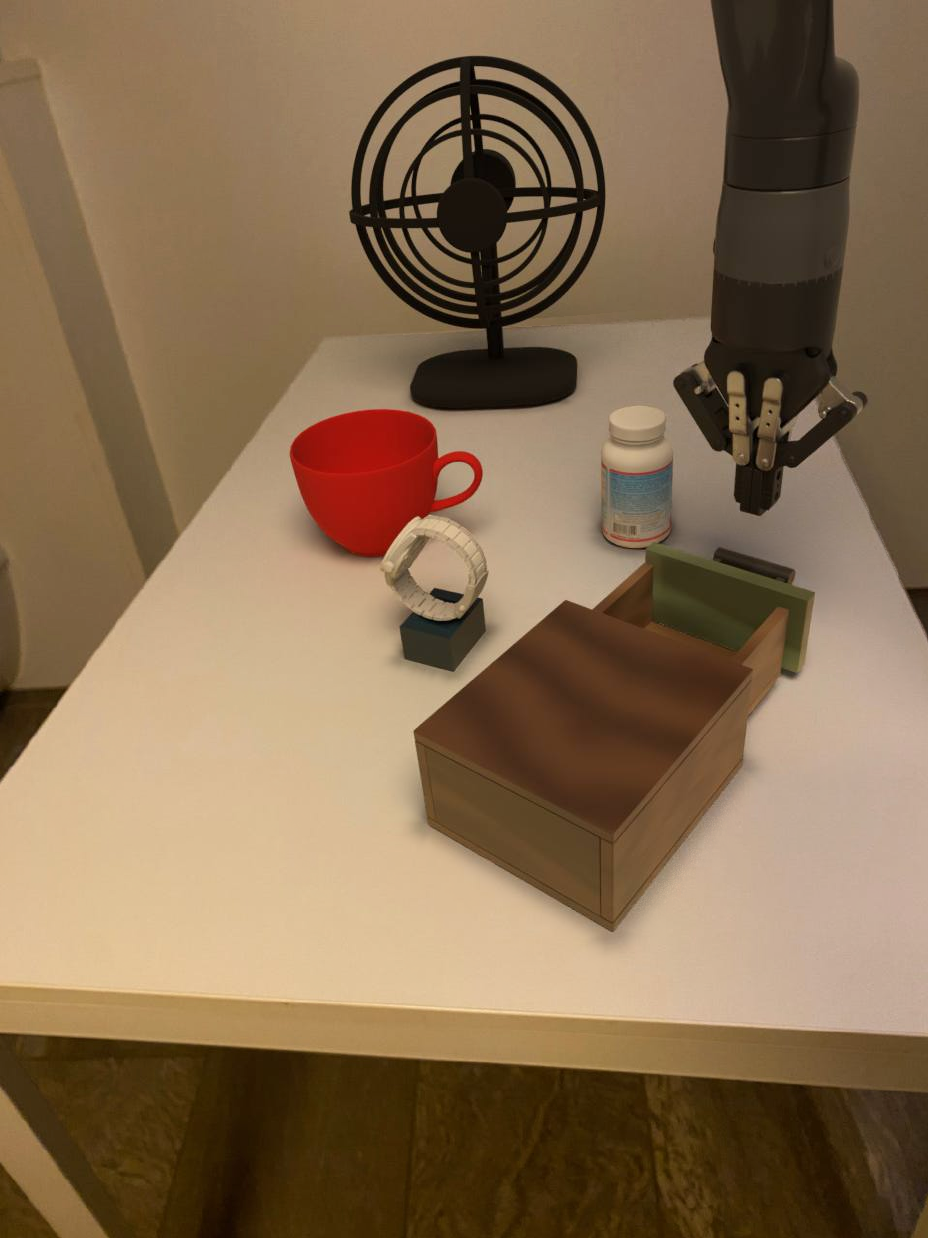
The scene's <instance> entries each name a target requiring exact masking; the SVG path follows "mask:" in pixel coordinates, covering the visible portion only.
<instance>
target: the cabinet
mask: <svg viewBox="0 0 928 1238" xmlns="http://www.w3.org/2000/svg"><path fill="white" fill-rule="evenodd" d="M592 609H593V608H589V607H588V606H587V607H586V606H584V605H581V604H579V603H575V602H573V601H570V600H568V599H564V600H563V601H562V602H561V603H560V604H559V605H557V607H555V608H554V609H553V610H551V612H549V613H548V614H547V615H545V616H544V618H543V619H542V620H540V621H539V622H538V623H537V624H536V625H534V626H533V627H532V628H530V629H529V630H528V631H527V632H526V633H525V634H523V636H522V637H520V638H519V639H518V640H517V641H516V642H515V643H513V644H512V645H511V646H510V647H508V648H507V649H506V650H505V651H504V652H503V653H502V654H500V655H499V656H498V657H497V658H496V659H494V661H493V662H491V663H490V664H489V665H488V666H486V667H485V668H484V669H483V670H481V672H480V673H478V674H477V675H476V676H475V677H473V679H471V681H469V682H468V683H467V684H465V686H463V687H462V688H460V689H459V691H458V692H456V693H455V694H454V695H453V696H452V697H451V698H449V699H448V700H447V701H446V702H445V703H444V704H442V705H441V706H440V707H439V708H438V709H437V710H436V711H434V712H433V713H431V714H430V716H428V717H427V718H426V719H425V720H424V721H422V723H420V724H419V725H418V726H417V727H416V728H414V729H413V732H412V733H413V738H414V746H415V752H416V758H417V763H418V770H419V776H420V781H421V782H420V783H421V788H422V794H423V801H424V807H425V812H426V817H427V822H428V823H427V824H428V826H430V827H432V828H433V829H435V830H437V831H438V832H440V833H441V834H443V835H445V836H447V837H449V838H451V840H454V841H456V842H457V843H459V844H461V845H462V846H465V847H466V848H467V849H470V850H471V851H473V852H475V853H476V854H478V855H479V856H482V857H483V858H485V859H487V860H488V861H490V862H492V863H494V864H495V865H497V866H499V867H501V868H502V869H504V870H505V871H507V872H509V873H511V874H513V875H514V876H516V877H518V878H519V879H521V880H523V881H524V882H526V883H528V884H530V885H531V886H533V887H534V888H536V889H538V890H540V891H541V892H543V893H545V894H547V895H548V896H550V897H552V898H553V899H555V900H557V901H559V902H561V903H562V904H563V905H566V906H568V908H571V909H573V910H574V911H576V912H577V913H580V914H581V915H583V916H585V917H586V918H588V919H590V920H591V921H593V922H595V923H597V924H598V925H600V926H601V927H603V928H605V929H607V930H608V931H610V932H614V931H615V930H616V928H617V927H618V926H619V924H620V923H621V922H622V920H623V919H624V918H625V917H626V916H627V915H628V913H629V912H630V910H631V909H632V908H633V906H634V905H635V904H636V903H637V902H638V900H639V899H640V898H641V896H642V895H643V894H644V892H645V891H646V890H647V889H648V887H649V886H650V885H651V883H652V882H653V881H654V880H655V878H656V877H657V876H658V874H659V873H660V872H661V870H663V868H664V867H665V865H666V864H667V863H668V862H669V860H670V859H671V858H672V856H673V855H674V854H675V853H676V851H677V850H678V848H680V846H681V845H682V843H683V842H684V841H685V840H686V838H687V837H688V836H689V835H690V833H691V832H692V831H693V830H694V828H695V827H696V825H697V824H698V823H699V821H700V820H701V819H702V818H703V816H705V814H706V813H707V812H708V810H709V809H710V808H711V806H712V805H713V804H714V803H715V801H716V800H717V799H718V797H719V796H720V794H722V792H723V791H724V790H725V789H726V787H727V785H729V783H730V782H731V780H733V778H734V777H735V775H736V774H737V773H738V772H739V770H740V769H741V768H742V766H743V763H744V762H743V761H744V753H745V745H746V737H747V736H746V735H747V727H748V718H749V715H748V710H749V701H750V692H751V683H752V675H753V669H752V668H749V667H746V666H743V665H741V664H738V663H735V662H733V661H730V660H727V659H725V658H722V657H719V656H716V655H714V654H711V653H708V652H706V651H703V650H700V649H697V648H695V647H692V646H689V645H687V644H684V643H681V642H679V641H676V640H673V639H670V638H668V637H665V636H662V635H660V634H657V633H654V632H652V631H649V630H646V629H643V628H641V627H638V626H635V625H633V624H630V623H627V622H625V621H622V620H619V619H616V618H614V617H611V616H608V615H606V614H603V613H600V612H598V611H595V610H592Z"/></svg>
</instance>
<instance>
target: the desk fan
mask: <svg viewBox="0 0 928 1238" xmlns="http://www.w3.org/2000/svg"><path fill="white" fill-rule="evenodd" d="M475 67H481V68H482V67H483V68H491V69H499V70H503V71H507V72H510V73H513V74H516V75H519V76H521V77H523V78H525V79H527V80H529V81H531V82H533V83H534V84H536V85H538V86H539V87H541V88H542V89H544V90H545V91H546V92H548V93H549V94H550V95H551V96H552V97H554V99H556V100H557V101H558V102H559V103H560V104H561V105H562V106H563V107H564V108H565V110H566V112H568V113H569V115H570V116H571V117H572V119H573V121H574V122H575V124H576V125H577V127H578V128H579V130H580V132H581V134H582V136H583V137H584V140H585V142H586V144H587V146H588V149H589V152H590V155H591V158H592V162H593V166H594V171H595V177H596V185H597V190H595V189H591V188H585V183H584V174H583V168H582V164H581V161H580V156H579V153H578V150H577V148H576V145H575V143H574V141H573V139H572V137H571V135H570V133H569V131H568V130H567V128H566V126H565V125H564V123H563V121H561V119H560V118H559V117H558V116H557V115H556V114H555V112H554V111H553V110H552V109H551V108H550V107H549V106H548V105H547V104H545V102H543V101H542V100H541V99H539V98H538V97H536V96H535V95H533V93H530V92H529V91H527V90H525V89H523V88H521V87H519V86H516V85H515V84H511V83H508V82H504V81H500V80H495V79H486V78H477V76H476V70H475ZM454 69H455V70H456V69H459V80H458V81H453V82H451V83H447V84H444V85H442V86H440V87H437V88H435V89H434V90H431V91H430V92H428V93H426V94H425V95H424V96H422V97H421V98H419V99H418V100H417V101H416V102H414V104H412V105H411V106H410V107H409V108H408V109H407V110H406V111H405V112H404V113H403V115H402V116H401V117H400V118H399V119H398V120H397V121H396V122H395V123H394V124H393V126H392V128H391V129H390V130H389V132H388V133H387V135H386V136H385V138H384V140H383V141H382V143H381V145H380V147H379V150H378V152H377V154H376V157H375V160H374V162H373V166H372V169H371V175H370V180H369V188H368V189H369V191H368V203H366V204H363V205H362V195H361V194H362V193H361V191H362V189H361V188H362V187H361V186H362V173H363V167H364V162H365V158H366V154H367V150H368V147H369V144H370V141H371V139H372V137H373V134H374V132H375V130H376V128H377V127H378V125H379V123H380V121H381V120H382V119H383V117H384V115H385V114H386V112H387V111H388V110H389V109H390V107H391V106H392V105H393V104H394V103H395V102H396V101H397V100H398V99H399V98H400V97H401V96H402V95H403V94H405V92H407V91H408V90H410V89H411V88H412V87H414V86H415V85H417V84H419V83H420V82H422V81H424V80H426V79H428V78H430V77H432V76H434V75H438V74H440V73H443V72H445V71H449V70H454ZM479 95H486V96H492V97H497V98H500V99H504V100H507V101H509V102H511V103H514V104H516V105H518V106H520V107H522V108H524V109H525V110H527V111H528V112H530V113H531V114H533V115H534V117H536V118H538V119H539V120H540V122H542V123H543V124H544V125H545V126H546V127H547V128H548V129H549V131H550V132H551V133H552V134H553V135H554V137H555V138H556V139H557V141H558V143H559V144H560V146H561V148H562V150H563V152H564V153H565V156H566V158H567V160H568V163H569V165H570V168H571V171H572V176H573V180H574V184H575V187H570V186H552V185H553V184H552V177H551V172H550V171H551V170H550V168H549V164H548V161H547V158H546V157H545V154H544V152H543V150H542V149H541V148H540V146H539V144H538V143H537V141H536V140H535V138H533V137H532V135H530V133H528V131H526V130H525V129H524V128H522V126H520V125H519V124H517V123H515V122H513V121H512V120H510V119H508V118H505V117H502V116H499V115H496V114H490V113H481V109H480V108H481V107H480V101H479V100H480V99H479ZM457 96H459V106H460V109H459V110H460V117H456V118H454V119H453V120H450V121H448V122H447V123H445V124H444V125H442V126H441V127H439V128H438V129H437V130H436V131H435V132H434V133H433V134H432V135H431V136H430V137H429V139H428V140H427V141H426V142H425V144H424V145H423V147H422V148H421V150H420V152H419V153H418V154H417V155H416V156H415V157H414V160H413V161H412V162H411V164H410V165H409V167H408V169H407V171H406V173H405V176H404V178H403V181H402V183H401V188H400V193H399V197H396V198H392V199H385V197H384V182H385V181H384V179H385V172H386V166H387V162H388V158H389V155H390V152H391V150H392V147H393V145H394V142H395V140H396V138H397V137H398V135H399V134H400V131H402V129H403V127H404V126H405V124H406V123H407V122H409V120H411V119H412V118H413V117H414V116H415V115H417V114H418V113H419V112H421V111H423V110H424V109H425V108H428V107H429V106H431V105H432V104H433V105H434V103H438V102H440V101H443V100H445V99H449V98H452V97H457ZM482 121H490V122H496V123H499V124H501V125H504V126H507V127H509V128H511V129H512V130H514V131H515V132H517V133H518V134H520V135H521V136H522V137H523V138H524V139H526V141H527V142H528V143H529V144H530V145H531V147H532V148H533V150H534V151H535V153H536V154H537V156H538V158H539V160H540V163H541V165H542V167H543V171H544V175H545V180H546V183H545V180H544V178H543V175H542V172H541V171H540V169H539V167H538V165H537V164H536V162H535V161H534V159H533V158H532V157H531V155H530V154H529V153H528V152H527V151H526V150H525V149H524V148H523V147H522V146H521V145H519V144H518V143H517V142H516V141H514V140H513V139H511V138H509V137H507V136H506V135H504V134H502V133H499V132H496V131H492V130H489V129H484V128H482ZM459 124H460V128H461V129H457V130H456V129H455V130H453V131H450V132H447V133H445V134H443V133H444V132H445V131H447V130H449V129H451V128H452V127H455V126H457V125H459ZM442 134H443V135H442ZM472 136H473V140H472ZM457 137H461V147H462V160H461V161H460V162H459V163H458V164H457V165H456V167H455V169H454V171H453V173H452V175H451V180H450V185H449V186H447V188H446V189H445V190H444V191H443V192H437V193H427V194H420V195H419V194H417V178H418V174H419V169H420V167H421V166H420V165H421V163H422V160H423V158H424V157H425V155H426V154H428V153H429V152H430V151H431V150H432V149H434V148H435V147H436V146H438V145H440V144H442V143H444V142H445V141H448V140H450V139H454V138H457ZM483 137H488V138H492V139H494V140H497V141H499V142H502V143H504V144H505V145H507V146H509V147H510V148H512V149H513V150H514V151H516V152H517V153H518V154H519V155H520V157H522V158H523V159H524V160H525V161H526V163H527V164H528V165H529V167H530V168H531V170H532V171H533V173H534V175H535V177H536V179H537V181H538V184H539V186H528V187H527V186H524V187H523V186H522V187H517V186H516V185H517V179H516V173H515V171H514V167H513V166H512V164H511V162H510V160H509V159H508V158H506V156H505V155H503V154H502V153H500V152H499V151H497V150H494V149H489V148H484V139H483ZM472 141H473V143H472ZM473 145H474V146H473ZM598 145H599V144H598V143H597V140H596V138H595V136H594V132H593V131H592V129H591V127H590V125H589V123H588V121H587V119H586V118H585V116H584V115H583V113H582V112H581V110H580V109H579V107H578V106H577V104H576V103H574V101H573V100H572V99H571V98H570V97H569V95H568V94H567V93H566V92H565V91H563V89H561V88H560V87H559V86H558V85H557V84H556V83H555V82H553V81H552V80H551V79H549V78H548V77H547V76H545V75H543V74H542V73H540V72H539V71H537V70H535V69H533V68H532V67H529V66H527V65H524V64H522V63H520V62H517V61H514V60H510V59H506V58H502V57H497V56H491V55H490V56H489V55H466V56H465V55H464V56H457V57H452V58H448V59H445V60H444V59H443V60H440V61H438V62H435V63H432V64H431V65H428V66H426V67H424V68H422V69H420V70H419V71H417V72H415V73H413V74H412V75H411V76H409V77H407V78H406V79H405V80H403V81H402V82H401V83H400V84H399V85H397V86H396V87H395V88H394V89H393V90H392V91H391V92H390V93H389V94H388V95H387V96H386V97H385V98H384V100H383V101H382V102H381V103H380V104H379V106H377V109H376V110H375V111H374V113H373V114H372V116H371V118H370V119H369V121H368V123H367V125H366V126H365V129H364V131H363V133H362V135H361V138H360V140H359V143H358V146H357V149H356V152H355V157H354V161H353V166H352V172H351V173H352V174H351V184H350V186H351V187H350V194H351V195H350V197H351V199H350V200H351V209H350V210H349V211H348V215H349V221H350V224H353V225H355V230H356V232H357V236H358V238H359V241H360V244H361V247H362V249H363V251H364V253H365V255H366V257H367V259H368V261H369V263H370V265H371V266H372V268H373V269H374V271H375V273H376V274H377V275H378V277H379V278H380V279H381V281H382V282H383V283H384V284H385V285H386V286H387V288H388V289H389V290H390V291H391V292H392V293H393V294H394V295H395V296H397V297H398V299H400V300H401V301H402V302H403V303H404V304H407V305H408V306H409V307H410V308H411V309H413V310H415V311H416V312H418V313H420V314H422V315H424V316H426V317H428V318H429V319H431V320H434V321H437V322H439V323H443V324H445V325H446V324H447V325H448V326H452V327H453V326H454V327H456V328H457V327H458V328H462V329H471V330H472V329H473V330H476V329H477V330H485V334H486V345H487V348H476V349H475V348H474V349H472V348H471V349H463V350H462V349H461V350H455V351H454V350H453V351H448V352H445V353H440V354H437V355H434V356H431V357H429V358H427V359H425V360H423V361H422V362H420V363H419V364H418V365H417V367H416V369H415V372H414V375H413V377H412V379H411V383H410V385H409V390H410V391H409V392H410V396H411V397H412V398H413V399H414V400H415V401H416V402H418V403H421V404H423V405H426V406H431V407H439V408H451V409H452V408H453V409H455V408H456V409H457V408H485V407H486V408H487V407H509V406H511V407H512V406H529V405H536V404H541V403H547V402H550V401H554V400H558V399H560V398H562V397H564V396H567V395H568V394H570V393H572V392H573V391H574V390H575V388H576V387H577V383H578V382H577V381H578V379H577V377H578V359H577V357H576V356H575V355H574V354H573V353H571V352H569V351H566V350H563V349H559V348H554V347H548V346H547V347H546V346H518V347H517V346H516V347H505V346H504V345H505V344H504V331H503V327H508V326H511V325H515V324H519V323H521V322H524V321H527V320H529V319H531V318H533V317H535V316H538V315H539V314H541V313H542V312H544V311H546V310H547V309H549V308H550V307H551V306H553V305H555V304H556V303H557V302H558V301H559V300H560V299H562V297H564V296H565V294H567V292H569V290H571V288H572V287H573V286H575V284H576V282H578V280H579V279H580V277H581V276H582V274H583V273H584V271H585V270H586V268H587V266H588V265H589V264H590V261H591V260H592V257H593V254H594V253H595V250H596V248H597V245H598V242H599V239H600V236H601V232H602V229H603V224H604V218H605V212H606V195H607V194H606V177H605V176H606V175H605V170H604V164H603V159H602V156H601V151H600V149H599V146H598ZM473 147H474V151H473ZM410 179H411V183H410V184H411V185H410V189H411V190H410V193H411V195H410V196H406V193H407V189H408V185H409V181H410ZM532 197H534V198H537V197H538V198H542V199H543V200H542V202H543V207H542V208H535V209H529V210H519V211H509V210H510V208H511V206H512V204H513V203H514V199H515V198H532ZM552 198H574V199H576V202H570V203H567V204H561V205H555V206H551V203H552ZM428 204H429V205H430V204H437V207H436V217H423V216H422V213H421V211H420V208H419V206H421V205H428ZM405 207H412V208H413V212H414V215H415V217H414V218H413V217H412V218H411V217H409V218H408V217H406V213H405V212H406V211H405ZM595 208H596V213H595V219H594V224H593V227H592V232H591V235H590V237H589V240H588V243H587V246H586V248H585V250H584V252H583V254H582V256H581V258H580V260H579V261H578V263H577V265H576V266H575V267H574V269H573V270H572V271H571V273H570V274H569V275H568V276H567V278H566V279H565V280H564V281H563V282H562V283H561V284H560V286H559V287H557V288H556V289H555V290H554V291H552V292H551V293H550V294H549V295H548V296H546V297H544V298H543V299H542V300H540V301H539V302H537V303H535V304H533V305H531V306H529V307H527V308H525V309H523V310H521V311H518V312H514V313H512V314H508V315H504V316H503V315H502V312H503V313H504V312H506V311H510V310H512V309H516V308H518V307H520V306H522V305H525V304H526V303H528V302H529V301H531V300H533V299H534V298H536V297H538V296H540V294H541V293H543V292H544V291H546V289H547V288H548V287H550V285H552V284H553V282H554V281H556V279H557V278H558V276H560V274H561V273H562V272H563V270H564V269H565V267H566V265H567V264H568V262H569V260H570V258H571V257H572V254H573V253H574V251H575V248H576V245H577V242H578V241H579V236H580V233H581V229H582V225H583V217H584V212H586V211H589V210H593V209H595ZM394 209H395V210H396V209H398V214H399V216H398V217H388V216H387V212H386V211H388V210H394ZM508 211H509V212H508ZM367 215H369V216H367ZM568 215H574V218H573V222H572V226H571V229H570V231H569V234H568V236H567V238H566V240H565V242H564V244H563V246H562V248H561V249H560V251H559V252H558V254H557V255H556V256H555V258H554V259H553V260H552V261H551V263H549V264H548V266H547V267H546V268H545V269H544V270H543V271H541V272H540V273H539V274H538V275H536V276H535V277H533V278H532V279H530V280H529V281H527V282H525V283H523V284H522V285H520V286H518V287H517V286H516V287H514V288H512V289H510V290H506V291H502V292H501V291H500V290H501V289H500V288H501V287H500V285H501V284H503V283H506V282H509V280H512V279H513V278H515V277H516V276H518V275H519V274H521V272H523V270H525V268H527V267H528V266H529V265H530V263H531V262H532V261H533V259H534V258H535V257H536V256H537V254H538V252H539V250H540V248H541V246H542V244H543V242H544V239H545V236H546V234H547V233H546V232H547V229H548V225H549V224H548V222H549V219H551V218H556V217H557V218H558V217H563V216H568ZM538 220H540V222H539V224H538V225H537V227H536V229H535V231H533V234H532V235H531V236H530V237H529V238H528V240H527V241H525V242H524V243H523V244H521V246H519V247H518V248H516V249H515V250H513V251H511V252H510V253H507V254H505V255H502V256H499V257H498V242H499V241H500V240H501V238H502V237H503V236H504V233H505V232H506V228H507V224H511V223H519V222H528V221H538ZM367 228H372V230H373V234H374V237H375V240H376V243H377V246H378V247H379V250H380V252H381V254H382V256H383V258H384V260H385V261H386V263H387V264H388V266H389V268H390V269H391V270H392V272H393V273H394V274H395V275H396V277H397V278H398V279H399V280H400V281H401V283H403V284H404V285H405V286H406V288H408V289H409V290H411V291H412V292H413V293H414V294H415V295H417V296H418V297H420V298H422V299H423V300H425V301H426V302H428V303H430V304H432V305H434V306H437V307H438V308H442V309H443V310H446V311H450V312H452V313H453V312H454V313H458V314H464V315H474V316H475V315H476V316H477V317H478V318H476V317H475V318H474V317H473V318H472V317H464V316H459V315H455V314H450V313H447V312H444V311H442V310H439V309H436V308H434V307H432V306H430V305H428V304H427V303H425V302H423V301H421V300H420V299H418V298H417V297H415V296H414V295H413V294H411V293H410V292H409V291H407V289H405V288H404V287H403V286H402V285H401V284H400V283H399V282H398V281H397V280H396V279H395V278H394V276H392V275H391V273H390V272H389V270H387V267H386V266H385V265H384V264H383V262H382V260H381V259H380V257H379V256H378V253H377V251H376V249H375V248H374V245H373V243H372V241H371V238H370V236H369V232H368V229H367ZM392 229H401V231H402V234H403V237H404V239H405V242H406V244H407V246H408V248H409V250H410V252H411V253H412V255H413V256H414V257H415V259H416V260H417V262H419V264H420V265H421V266H422V267H423V269H425V270H426V271H428V272H429V273H430V274H432V275H433V276H434V277H436V278H438V279H439V280H441V281H443V282H445V283H448V284H450V285H453V286H456V287H459V288H464V289H474V293H467V292H462V291H458V290H455V289H451V288H449V287H447V286H444V285H442V284H440V283H438V282H436V281H435V280H433V279H432V278H430V277H428V276H427V275H426V274H424V272H422V271H420V270H419V268H417V266H415V264H413V263H412V261H410V259H409V258H408V257H407V255H406V254H405V253H404V252H403V250H402V248H401V246H400V245H399V243H398V241H397V240H396V238H395V236H394V233H393V232H392ZM409 229H421V230H422V232H423V233H424V235H425V237H426V238H427V239H428V240H429V241H430V242H431V244H432V245H433V246H434V247H435V248H436V249H438V251H440V252H442V253H443V254H444V255H446V256H447V257H449V258H451V259H453V260H454V261H455V260H456V261H457V262H460V263H464V264H468V265H471V272H472V279H473V282H472V281H465V280H460V279H456V278H454V277H451V276H449V275H447V274H445V273H443V272H441V271H439V270H438V269H436V268H435V267H434V266H432V264H430V263H429V262H428V261H427V260H426V259H425V258H424V257H423V256H422V254H421V253H420V252H419V250H418V249H417V247H416V245H415V243H414V242H413V240H412V237H411V235H410V231H409ZM429 229H439V231H440V234H441V235H442V238H444V240H445V241H446V242H447V243H448V244H449V245H450V246H451V247H452V248H454V249H456V250H458V251H460V252H464V253H468V254H470V257H466V256H464V255H461V254H458V253H456V252H454V251H452V250H450V249H449V248H447V247H446V246H445V245H443V244H442V243H441V242H440V241H439V240H438V239H437V238H436V237H435V236H434V234H432V232H431V231H430V230H429ZM538 236H539V237H538ZM536 239H538V240H537V241H536V244H535V246H534V247H533V249H532V251H531V252H530V253H529V255H528V256H527V257H526V259H525V260H524V261H523V262H522V263H520V265H519V266H517V267H516V268H515V269H513V270H512V271H510V272H509V273H507V274H505V275H503V276H500V274H499V264H501V263H505V262H506V261H507V262H508V261H509V260H511V259H513V258H516V257H517V256H518V255H520V254H521V253H523V252H524V251H526V250H527V249H528V248H529V247H530V246H531V245H532V244H533V243H534V241H535V240H536ZM389 247H390V248H389ZM390 249H391V250H390ZM391 251H392V252H391ZM392 253H393V254H394V255H395V256H394V255H393V254H392ZM395 257H396V259H397V260H398V261H399V262H400V263H401V265H402V266H403V267H404V268H405V270H406V271H407V272H408V273H409V274H410V275H411V276H412V277H413V278H414V279H416V280H417V281H418V282H419V283H421V284H422V285H424V286H425V287H427V288H428V289H430V290H431V291H433V292H435V293H437V294H439V295H441V296H444V297H446V298H449V299H452V300H456V301H460V302H466V303H474V304H476V305H470V304H469V305H468V304H463V303H462V304H461V303H456V302H452V301H449V300H448V299H447V300H446V299H445V298H441V297H439V296H437V295H436V294H433V293H431V292H430V291H428V290H427V289H425V288H423V287H422V286H421V285H420V284H419V283H417V282H416V281H415V280H413V278H411V276H409V275H408V273H407V272H406V271H405V270H404V269H403V268H402V266H401V265H400V264H399V263H398V261H397V260H396V259H395ZM507 300H508V301H507ZM503 301H505V302H503Z"/></svg>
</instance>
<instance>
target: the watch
mask: <svg viewBox="0 0 928 1238" xmlns="http://www.w3.org/2000/svg"><path fill="white" fill-rule="evenodd" d="M429 538H432V539H436V540H437V541H439V542H442V543H443V544H446V546H448V547H449V548H450V549H452V550H453V551H455V552H456V554H458V555H459V557H460V558H461V559H463V562H464V564H465V566H466V567H467V569H469V570H468V572H469V574H468V581H467V584H466V586H465V590H464V593H461V592H455V591H451V590H446V589H442V588H437V587H433V588H432V589H431V591H430V592H429V593H428V592H426V591H425V590H424V589H423V588H422V586H421V585H419V584H417V583H418V582H417V581H416V580H415V578H414V577H413V576H412V575H411V572H410V570H409V569H410V568H411V567H412V566H413V564H414V562H415V561H416V559H417V558H418V557H419V555H420V554H421V552H422V551H423V549H424V548H425V546H426V544H427V542H428V540H429ZM379 570H380V571H381V572H383V573H384V579H385V583H386V585H387V586H388V587H389V588H390V589H391V591H392V592H393V593H394V596H396V597H397V599H398V600H399V601H401V603H402V604H403V605H404V606H405V607H406V608H408V609H409V610H411V613H410V614H409V615H408V616H407V617H406V618H405V620H404V621H403V622H402V623H401V624H400V625H399V626H398V628H399V633H400V640H401V645H402V652H403V658H404V660H408V661H411V662H416V663H419V664H423V665H426V666H430V667H435V668H438V669H442V670H444V671H445V670H446V671H449V672H455V670H457V668H458V666H459V665H460V664H461V663H462V662H463V660H464V659H465V658H466V657H467V655H468V654H469V653H470V651H471V650H472V649H473V647H474V646H475V645H476V644H477V642H478V641H479V640H480V639H481V638H482V637H483V635H484V633H485V632H486V630H487V627H486V619H485V616H486V615H485V607H484V598H483V597H479V596H480V595H481V593H482V592H483V590H484V588H485V586H486V583H487V580H488V577H489V570H488V565H487V558H486V555H485V553H484V550H483V548H482V547H481V545H480V544H479V542H478V541H477V539H476V538H475V536H473V534H471V532H470V531H468V529H467V528H465V527H464V526H463V525H461V524H460V523H458V522H456V521H455V520H452V519H450V518H447V517H444V516H438V515H433V514H429V515H428V516H426V517H425V518H423V519H421V518H420V517H415V518H414V519H412V520H411V521H410V522H409V523H408V524H407V525H406V526H405V527H404V529H403V530H402V531H401V532H400V534H399V535H398V536H397V538H396V539H395V540H394V542H393V543H392V545H391V546H390V548H389V549H388V551H387V553H386V554H385V555H383V559H382V561H381V563H380V566H379Z"/></svg>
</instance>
